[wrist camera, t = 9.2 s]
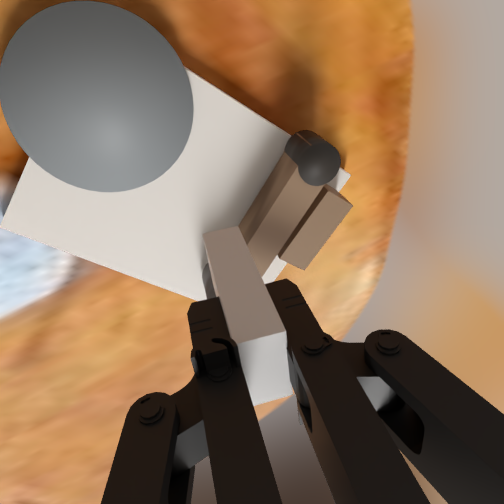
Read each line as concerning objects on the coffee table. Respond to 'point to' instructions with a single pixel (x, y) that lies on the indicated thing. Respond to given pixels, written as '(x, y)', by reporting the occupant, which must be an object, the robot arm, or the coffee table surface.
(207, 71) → the coffee table surface
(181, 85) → the stand board
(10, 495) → the coffee table surface
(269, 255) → the leg
